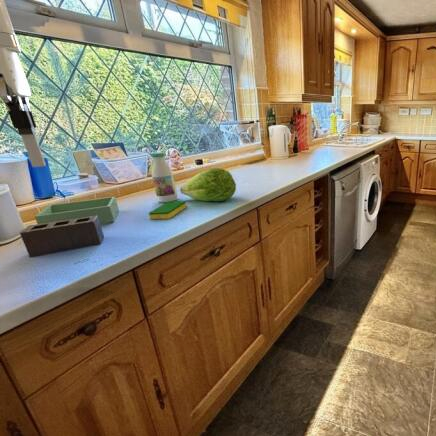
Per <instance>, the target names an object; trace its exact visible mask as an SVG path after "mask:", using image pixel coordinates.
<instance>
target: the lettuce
mask: <svg viewBox="0 0 436 436" xmlns="http://www.w3.org/2000/svg"><path fill="white" fill-rule="evenodd" d="M236 190H237V184H236V181H235V179H234V177H233V175H232V174H231V173H230V171H228V170H226V169H223V168H220V167H215V168H209V169H207V170H203V171H200V172H198V173H197V174H195V175H193V176H191V177H189V178H188V179H187V180H186V181H185V182H184V183H183V184H182V185H181V186H180V189H179V191H180V194H183V195H185V196H187V197H189V198H191V199H193V200H196V201H197V200H199V201H202V202H225V201H227V200H228V199H230V198H232V197H233V196H234V194H235V193H236Z"/></svg>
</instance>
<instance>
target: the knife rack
mask: <svg viewBox="0 0 436 436" xmlns="http://www.w3.org/2000/svg"><path fill="white" fill-rule="evenodd" d="M19 235H20V237H21V239H22V242H23V245H24V246H25V249H26V252H27V254H28V257H29V258H34V257H38V256H44V255H49V254H55V253H61V252H65V251H71V250H76V249H82V248H87V247H92V246H98V245H101V244H102V242H103V240H104V239H105V235H104V232H103V229H102V224H100V222H99V219H98V216H97V215H96V216H89V217H82V218H76V219H69V220H62V221H56V222H49V223H42V224H37V223H36V224H30V225H27V226H26V227H25V228H23V230H22V231H20V232H19Z"/></svg>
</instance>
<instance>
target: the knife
mask: <svg viewBox="0 0 436 436" xmlns="http://www.w3.org/2000/svg"><path fill="white" fill-rule="evenodd" d="M23 107H24V111H27V114H28V117H29V119H30V122H31V125H32V128H24V129H17V132H18V135H19V136H21V138H22V142H23V144H24V147H25V150H26V153H27V155H28V158H29V161H30V164H31V167H32V168H39V167H46V166H47V163H46V161H45V157H44V155H43V152H42V150H41V147H40V144H39V143H40V142H39V140H38V139H37V138H38V137H37V131H36V128H34V125H33V122H32V119H31V116H30V113H29V110H28V107H27V105H26V104H23Z"/></svg>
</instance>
